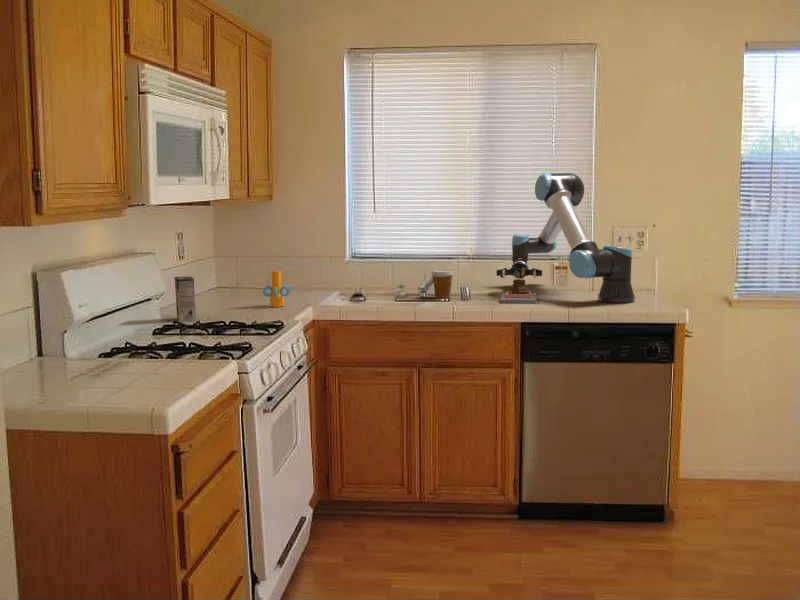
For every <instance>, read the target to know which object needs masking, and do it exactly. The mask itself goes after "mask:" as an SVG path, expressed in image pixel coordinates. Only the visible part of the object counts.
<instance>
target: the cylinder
mask: <svg viewBox="0 0 800 600" xmlns="http://www.w3.org/2000/svg"><path fill="white" fill-rule="evenodd" d="M270 275H271V276H270V277H271V285H269V284H268V285H266V286H265V287H264V288H263V290H262V294H263V296H264V297H268V298H269V306H271V308H280V307H279V306H283V307H285V297H288V295H290V293H291V287H290V286H289V285H287V284H285V285H283V286H282V270H277V269H276V270H275V269H274V270H271V274H270ZM267 289H269V290H270V293H268V291H267ZM284 289H285V290H286V293H285V292H284Z"/></svg>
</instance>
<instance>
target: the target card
mask: <svg viewBox="0 0 800 600" xmlns="http://www.w3.org/2000/svg"><path fill="white" fill-rule="evenodd" d="M499 303H500V304H527V305H529V304H534V305H535V304H537V292H532V291H531V290H529V291H528V290H526V294H512V290H506V292H501V295H500V299H499Z"/></svg>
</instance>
